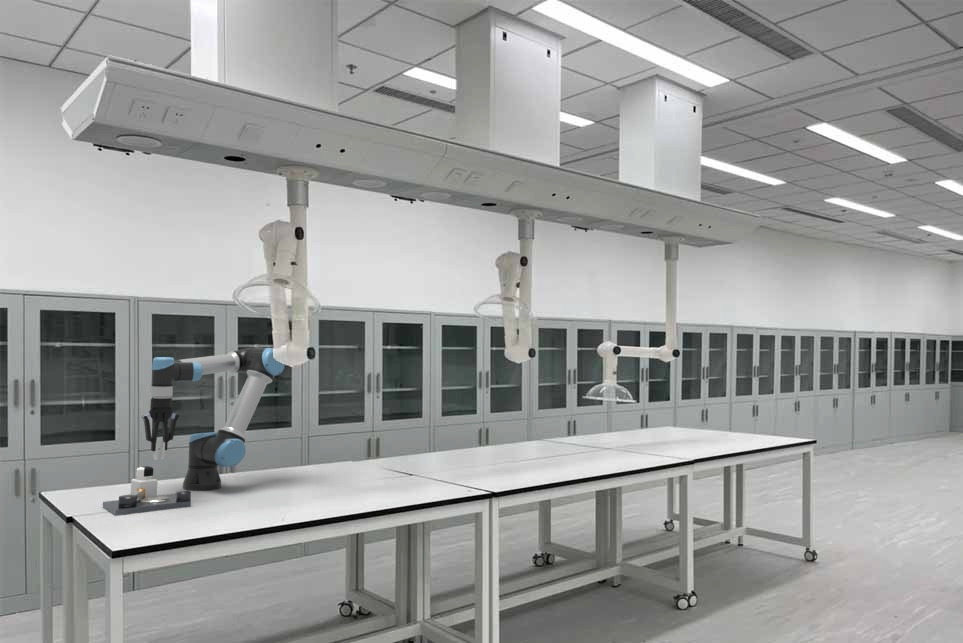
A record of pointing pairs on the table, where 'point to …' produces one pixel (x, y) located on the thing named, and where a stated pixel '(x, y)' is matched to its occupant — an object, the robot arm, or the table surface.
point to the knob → (183, 496)
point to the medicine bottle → (145, 481)
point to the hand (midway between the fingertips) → (158, 459)
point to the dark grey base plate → (146, 505)
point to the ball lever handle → (131, 498)
